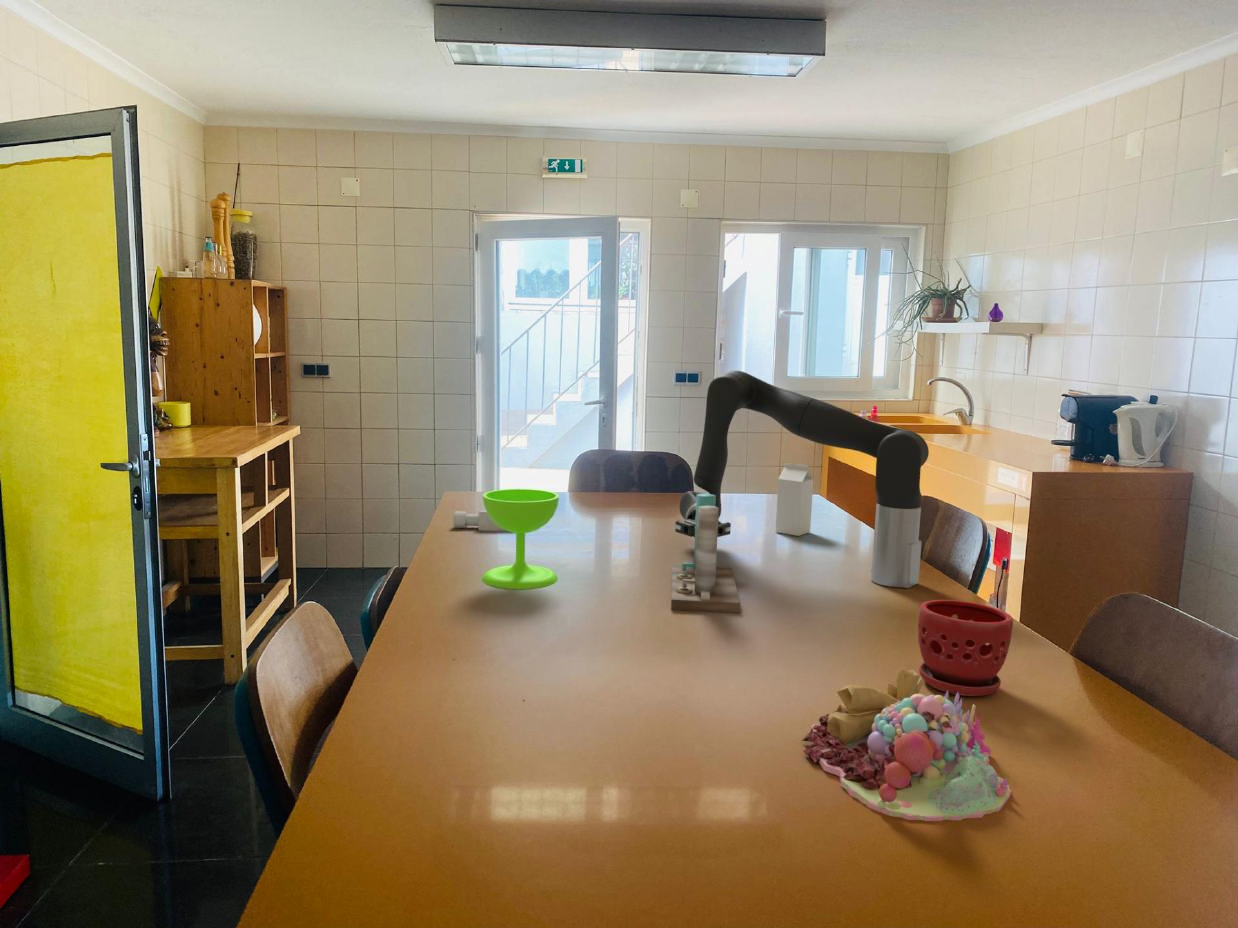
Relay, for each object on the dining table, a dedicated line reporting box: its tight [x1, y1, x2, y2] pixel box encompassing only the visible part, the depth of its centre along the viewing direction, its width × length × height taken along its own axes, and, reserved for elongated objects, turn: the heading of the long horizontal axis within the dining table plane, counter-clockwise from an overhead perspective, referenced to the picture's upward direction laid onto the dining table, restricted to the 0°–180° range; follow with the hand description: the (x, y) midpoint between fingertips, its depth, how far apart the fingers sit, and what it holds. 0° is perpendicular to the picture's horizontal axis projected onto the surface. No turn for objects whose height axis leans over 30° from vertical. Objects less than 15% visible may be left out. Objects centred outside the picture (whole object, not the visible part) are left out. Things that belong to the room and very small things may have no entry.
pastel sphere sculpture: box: [801, 669, 1012, 822], centre depth 105 cm, size 25×24×9 cm
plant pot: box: [917, 599, 1014, 697], centre depth 131 cm, size 13×13×12 cm
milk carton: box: [775, 462, 814, 537], centre depth 235 cm, size 7×7×19 cm
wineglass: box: [481, 488, 560, 590], centre depth 182 cm, size 16×16×18 cm
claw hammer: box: [452, 510, 508, 532], centre depth 243 cm, size 6×22×30 cm
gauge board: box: [670, 506, 741, 614], centre depth 176 cm, size 26×13×19 cm, turn 176°
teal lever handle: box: [681, 493, 716, 571], centre depth 182 cm, size 4×6×16 cm, turn 86°
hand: (703, 535), depth 184 cm, fingers closed
